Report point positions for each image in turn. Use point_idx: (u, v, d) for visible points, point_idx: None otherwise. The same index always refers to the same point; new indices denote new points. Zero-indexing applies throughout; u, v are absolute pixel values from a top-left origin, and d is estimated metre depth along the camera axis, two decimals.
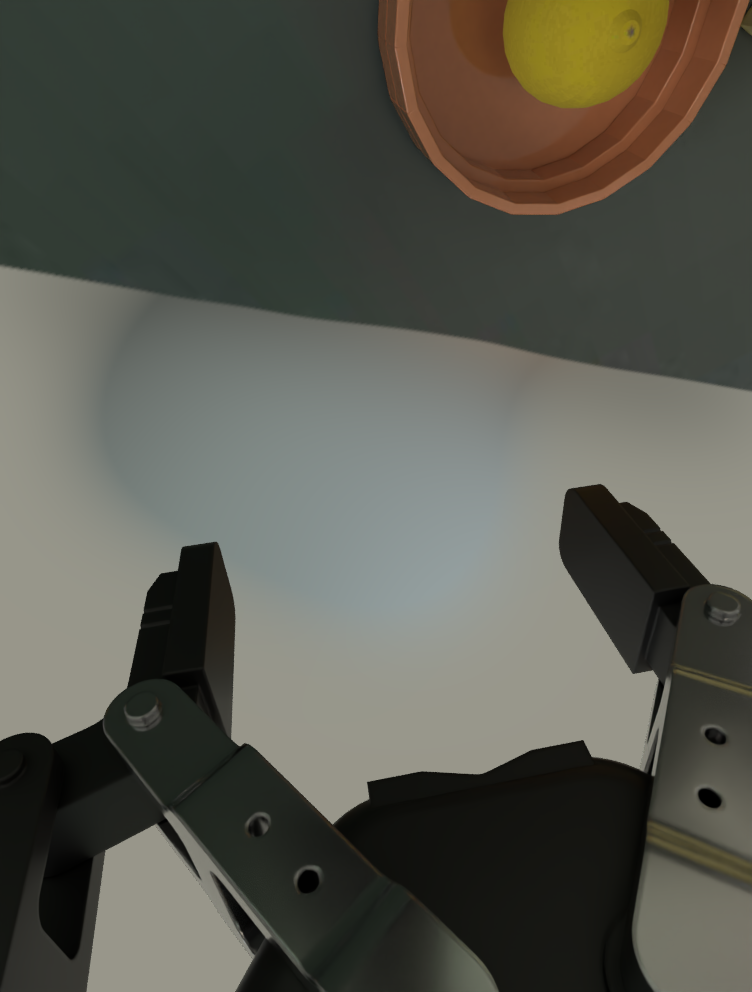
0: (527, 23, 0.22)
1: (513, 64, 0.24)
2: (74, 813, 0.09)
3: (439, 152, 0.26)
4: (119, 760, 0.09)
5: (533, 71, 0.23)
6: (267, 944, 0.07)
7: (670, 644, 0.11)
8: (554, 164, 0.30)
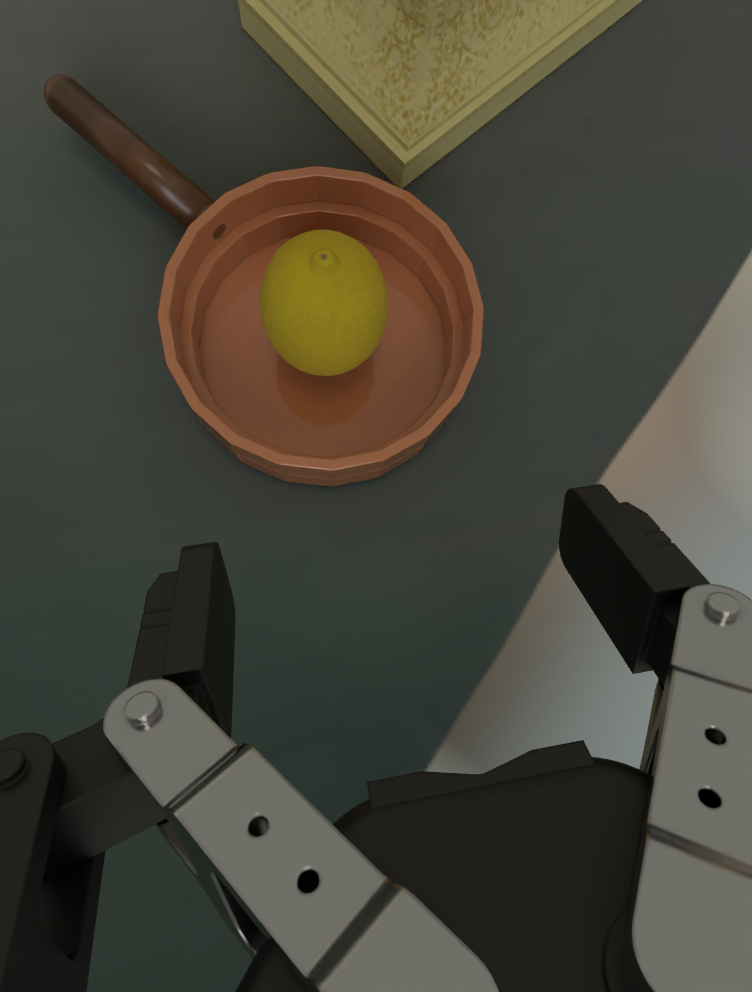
0: (299, 347, 0.25)
1: (332, 368, 0.26)
2: (74, 813, 0.09)
3: (376, 451, 0.26)
4: (119, 760, 0.09)
5: (336, 349, 0.25)
6: (267, 944, 0.07)
7: (670, 644, 0.11)
8: (446, 354, 0.31)
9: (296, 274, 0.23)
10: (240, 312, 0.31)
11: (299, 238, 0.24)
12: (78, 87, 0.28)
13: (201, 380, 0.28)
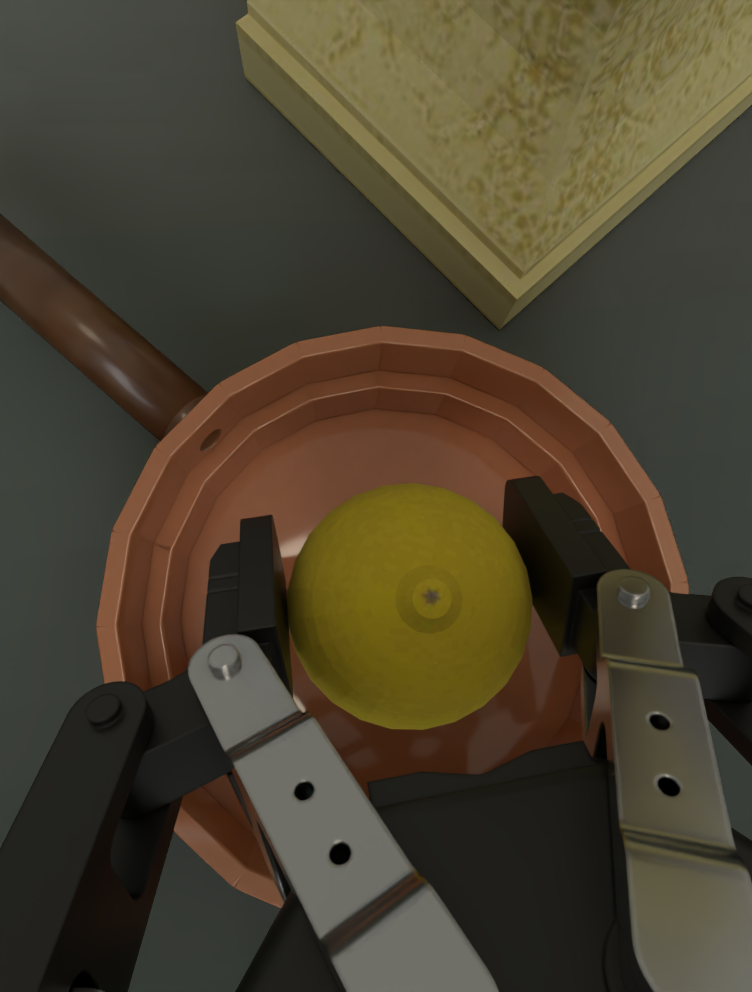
0: (368, 720, 0.13)
1: None
2: (156, 765, 0.09)
3: None
4: (197, 702, 0.10)
5: (440, 724, 0.13)
6: (295, 902, 0.07)
7: (591, 633, 0.11)
8: None
9: (368, 622, 0.11)
10: None
11: (370, 527, 0.12)
12: None
13: None
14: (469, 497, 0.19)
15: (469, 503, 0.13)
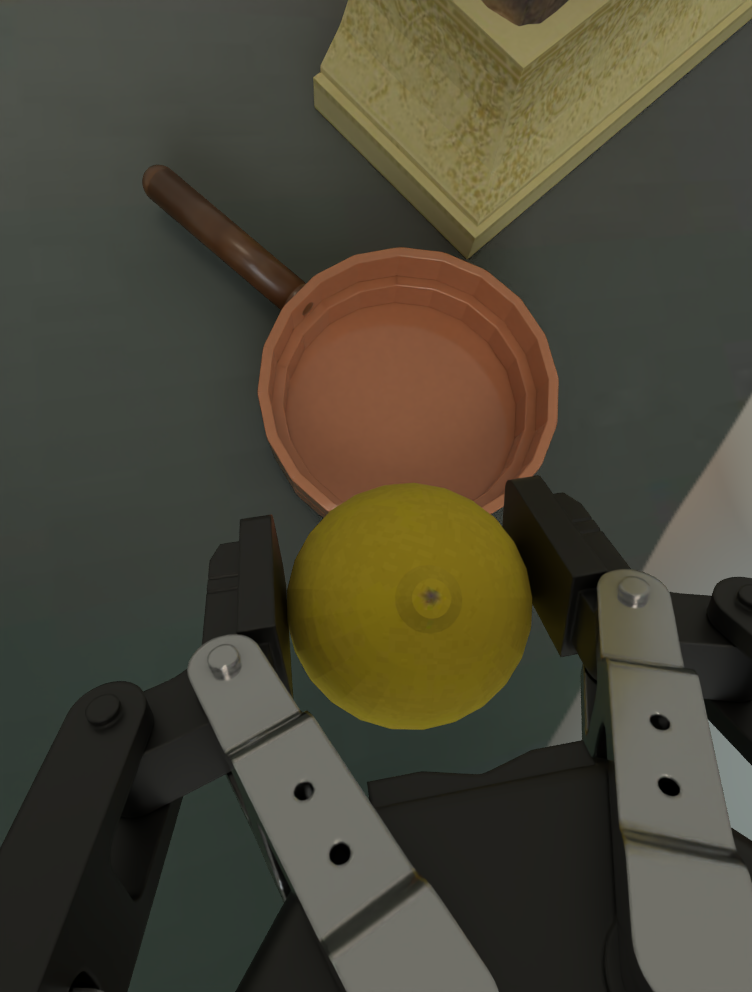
0: (368, 720, 0.13)
1: None
2: (155, 765, 0.09)
3: None
4: (197, 702, 0.10)
5: (440, 724, 0.13)
6: (295, 903, 0.07)
7: (591, 633, 0.11)
8: (517, 417, 0.32)
9: (368, 622, 0.11)
10: (323, 380, 0.33)
11: (370, 527, 0.12)
12: (175, 177, 0.31)
13: (294, 449, 0.30)
14: (448, 352, 0.33)
15: (469, 503, 0.13)
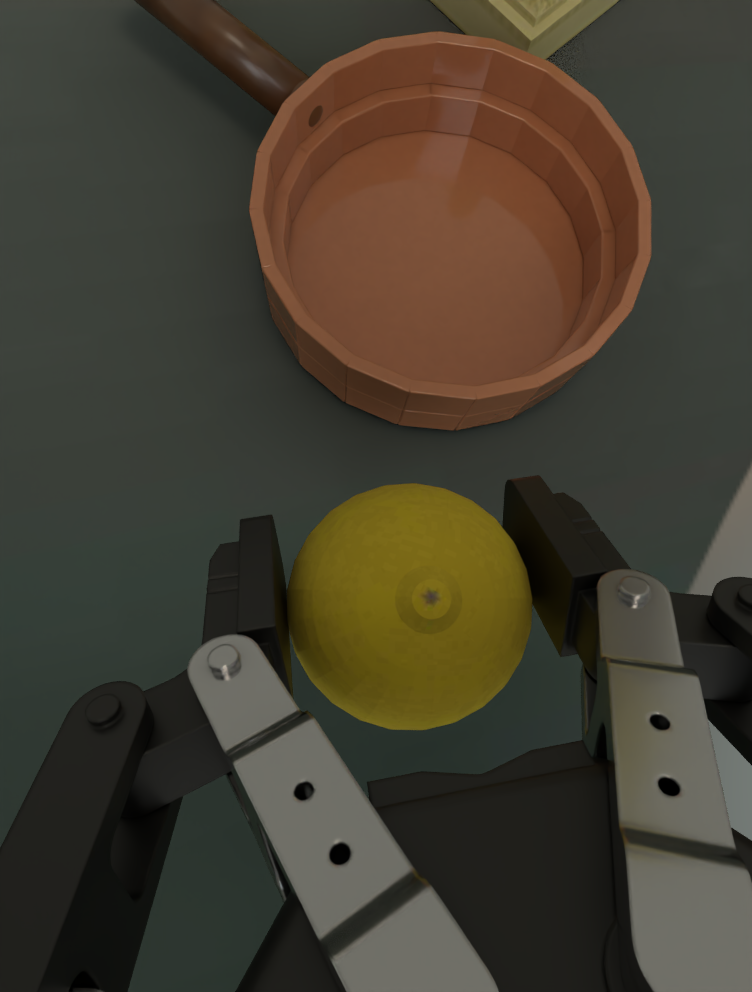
0: (368, 721, 0.13)
1: None
2: (156, 765, 0.09)
3: (530, 375, 0.21)
4: (197, 702, 0.10)
5: (440, 725, 0.13)
6: (295, 902, 0.07)
7: (591, 633, 0.11)
8: (586, 270, 0.25)
9: (369, 622, 0.11)
10: (335, 223, 0.25)
11: (370, 527, 0.12)
12: None
13: (298, 297, 0.23)
14: (495, 192, 0.26)
15: (469, 503, 0.13)
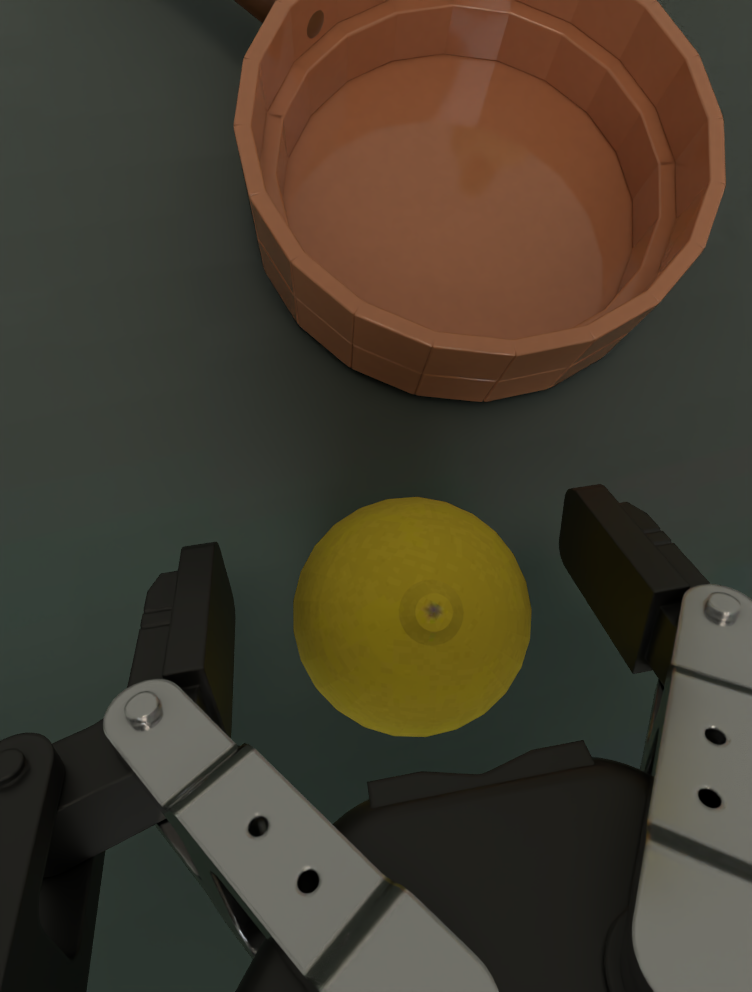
0: (372, 728, 0.13)
1: None
2: (74, 813, 0.09)
3: (581, 327, 0.17)
4: (119, 760, 0.09)
5: (442, 732, 0.13)
6: (267, 944, 0.07)
7: (670, 644, 0.11)
8: (637, 214, 0.21)
9: (373, 634, 0.11)
10: (339, 160, 0.21)
11: (374, 542, 0.12)
12: None
13: None
14: (527, 125, 0.22)
15: (470, 518, 0.13)
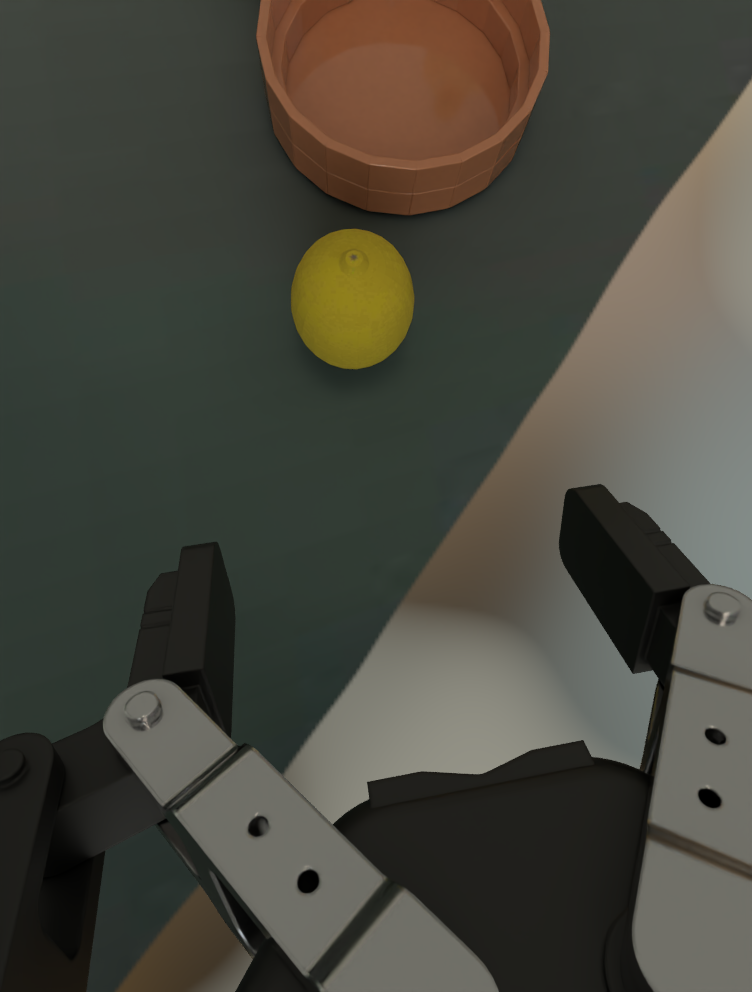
0: (330, 343, 0.26)
1: (361, 362, 0.27)
2: (74, 813, 0.09)
3: (455, 154, 0.29)
4: (119, 760, 0.09)
5: (365, 345, 0.26)
6: (267, 944, 0.07)
7: (670, 644, 0.11)
8: (511, 98, 0.33)
9: (327, 274, 0.24)
10: (321, 64, 0.33)
11: (329, 238, 0.25)
12: None
13: None
14: (443, 41, 0.34)
15: (379, 236, 0.26)
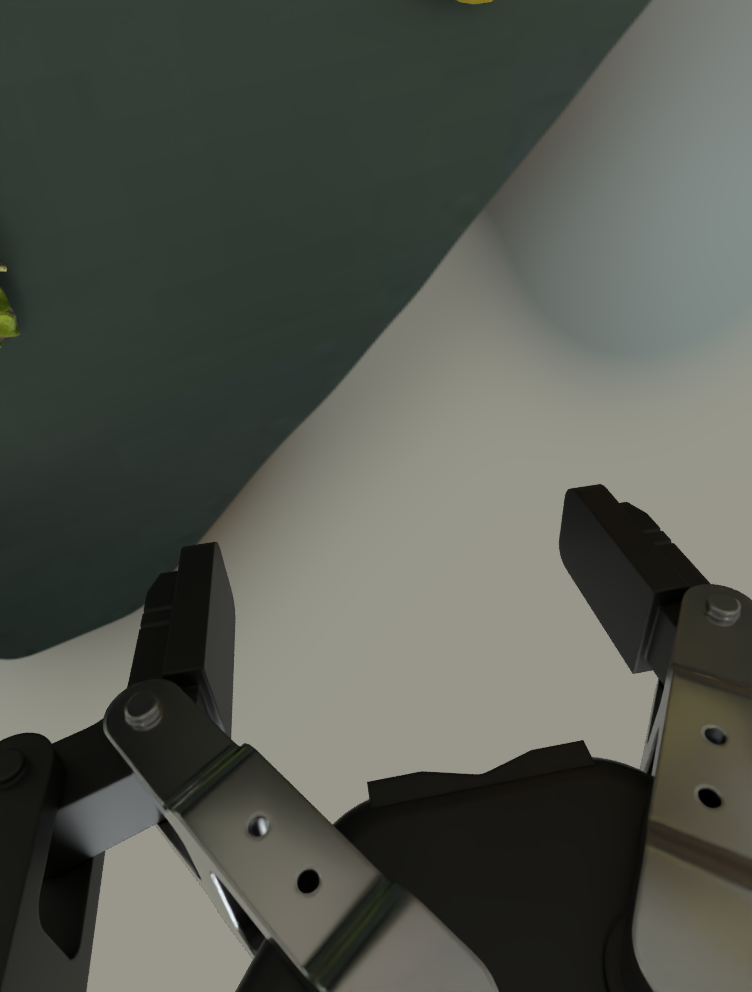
0: None
1: (479, 3, 0.28)
2: (74, 813, 0.09)
3: None
4: (119, 760, 0.09)
5: None
6: (267, 944, 0.07)
7: (670, 644, 0.11)
8: None
9: None
10: None
11: None
12: None
13: None
14: None
15: None
